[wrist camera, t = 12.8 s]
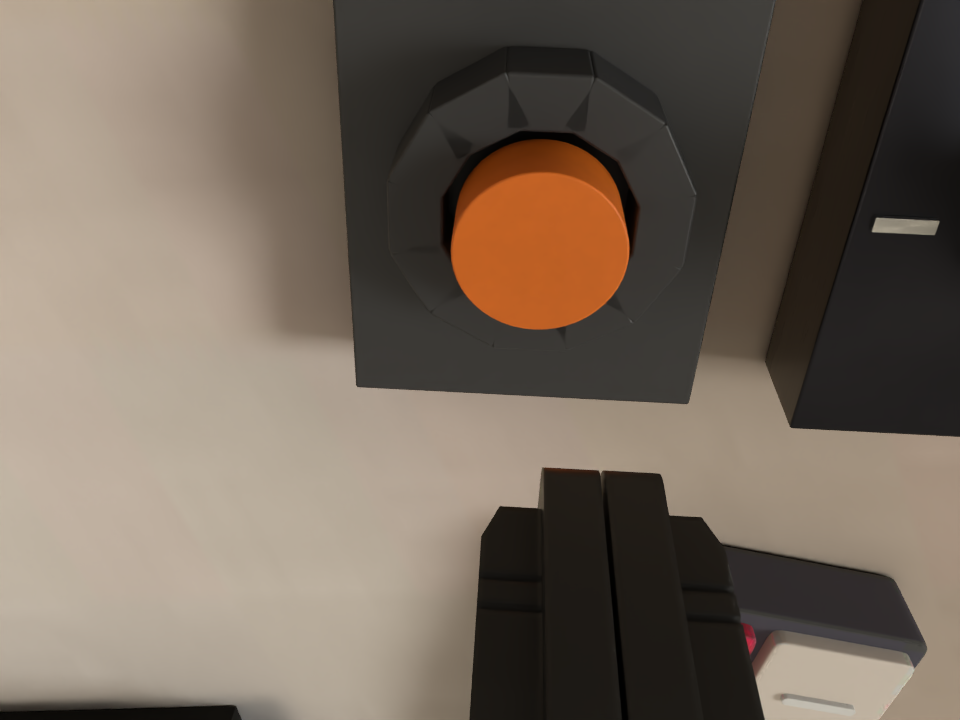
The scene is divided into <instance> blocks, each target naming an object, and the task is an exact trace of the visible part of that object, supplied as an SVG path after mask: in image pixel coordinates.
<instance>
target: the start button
mask: <svg viewBox="0 0 960 720" xmlns="http://www.w3.org/2000/svg"><path fill="white" fill-rule="evenodd" d="M629 249H630V248H629V237H628V232H627V227H626V223H625V218H624V213H623V208H622V203H621V199H620V194H619V191H618V189H617V186H616V184H615V182H614V180H613V178H612V176H611V175H610V173H609V172H608V171H607V169H606V168H605V167H604V166H603V165H602V164H601V163H600V162H599V161H598V160H597V159H596V158H595V157H593V156H592V155H591V154H589V153H588V152H586V151H584V150H582V149H581V148H579V147H577V146H574V145H571V144H569V143H566V142H562V141H557V140H550V139H531V140H524V141H519V142H516V143H512V144H509V145H507V146H504V147H502V148H500V149H498V150H496V151H495V152H493V153H491V154H490V155H488V156H487V157H486V158H484V159H483V160H482V161H481V162H480V163H479V164H478V165H477V166H476V167H475V168H474V169H473V170H472V172H471V173H470V174H469V176H468V177H467V179H466V181H465V182H464V184H463V186H462V189H461V191H460V194H459V197H458V202H457V206H456V213H455V220H454V227H453V234H452V241H451V262H452V267H453V271H454V274H455V277H456V279H457V282H458V283H459V285H460V287H461V289H462V290H463V292H464V293H465V295H466V296H467V297H468V299H469V300H470V301H471V302H472V303H473V304H474V305H475V306H476V307H477V308H479V309H480V310H481V311H482V312H484V313H485V314H487V315H488V316H490V317H492V318H493V319H495V320H498V321H500V322H502V323H505V324H508V325H510V326H514V327H519V328H524V329H533V330H543V329H553V328H559V327H563V326H567V325H570V324H573V323H576V322H578V321H580V320H582V319H584V318H586V317H588V316H589V315H591V314H593V313H594V312H596V311H597V310H598V309H599V308H601V307H602V306H603V305H604V304H605V303H606V302H607V301H608V300H609V299H610V298H611V297H612V295H613V294H614V293H615V291H616V290H617V289H618V287H619V285H620V283H621V281H622V280H623V277H624V275H625V272H626V269H627V265H628V260H629Z"/></svg>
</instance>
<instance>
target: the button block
mask: <svg viewBox="0 0 960 720" xmlns="http://www.w3.org/2000/svg"><path fill="white" fill-rule="evenodd" d="M775 2H776V0H333V9H334V26H335V42H336V59H337V75H338V92H339V108H340V125H341V141H342V158H343V174H344V191H345V207H346V224H347V240H348V257H349V273H350V290H351V306H352V323H353V339H354V356H355V372H356V385H357V387H367V388H386V389H406V390H425V391H444V392H464V393H483V394H503V395H522V396H541V397H561V398H580V399H599V400H619V401H638V402H657V403H677V404H688V403H689V400H690V395H691V390H692V386H693V381H694V377H695V372H696V367H697V363H698V358H699V353H700V349H701V344H702V340H703V335H704V330H705V326H706V321H707V317H708V312H709V307H710V303H711V298H712V293H713V289H714V284H715V280H716V275H717V270H718V266H719V261H720V256H721V252H722V247H723V243H724V238H725V233H726V229H727V224H728V219H729V215H730V210H731V206H732V201H733V196H734V192H735V187H736V182H737V178H738V173H739V169H740V164H741V159H742V155H743V150H744V145H745V141H746V136H747V132H748V127H749V122H750V118H751V113H752V108H753V104H754V99H755V95H756V90H757V85H758V81H759V76H760V71H761V67H762V62H763V58H764V53H765V48H766V44H767V39H768V34H769V30H770V25H771V21H772V16H773V11H774V7H775ZM531 139H550V140H557V141H562V142H566V143H569V144H571V145H574V146H577V147H579V148H581V149H582V150H584V151H586V152H588V153H589V154H591V155H592V156H593V157H595V158H596V159H597V160H598V161H599V162H600V163H601V164H602V165H603V166H604V167H605V168H606V169H607V171H608V172H609V173H610V175H611V176H612V178H613V180H614V182H615V184H616V186H617V189H618V191H619V194H620V199H621V203H622V208H623V213H624V218H625V223H626V227H627V232H628V237H629V248H630V249H629V260H628V265H627V269H626V272H625V275H624V277H623V280H622V281H621V283H620V285H619V287H618V289H617V290H616V291H615V293H614V294H613V295H612V297H611V298H610V299H609V300H608V301H607V302H606V303H605V304H604V305H603V306H602V307H601V308H599V309H598V310H597V311H596V312H594V313H593V314H591V315H589V316H588V317H586V318H584V319H582V320H580V321H578V322H576V323H573V324H570V325H567V326H563V327H559V328H553V329H543V330H533V329H524V328H519V327H514V326H510V325H508V324H505V323H502V322H500V321H498V320H495V319H493V318H492V317H490V316H488V315H487V314H485V313H484V312H482V311H481V310H480V309H479V308H477V307H476V306H475V305H474V304H473V303H472V302H471V301H470V300H469V299H468V297H467V296H466V295H465V293H464V292H463V290H462V289H461V287H460V285H459V283H458V282H457V279H456V277H455V274H454V271H453V267H452V262H451V241H452V234H453V227H454V220H455V213H456V206H457V202H458V197H459V194H460V191H461V189H462V186H463V184H464V182H465V181H466V179H467V177H468V176H469V174H470V173H471V172H472V170H473V169H474V168H475V167H476V166H477V165H478V164H479V163H480V162H481V161H482V160H483V159H484V158H486V157H487V156H488V155H490V154H491V153H493V152H495V151H496V150H498V149H500V148H502V147H504V146H507V145H509V144H512V143H516V142H519V141H524V140H531Z"/></svg>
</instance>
